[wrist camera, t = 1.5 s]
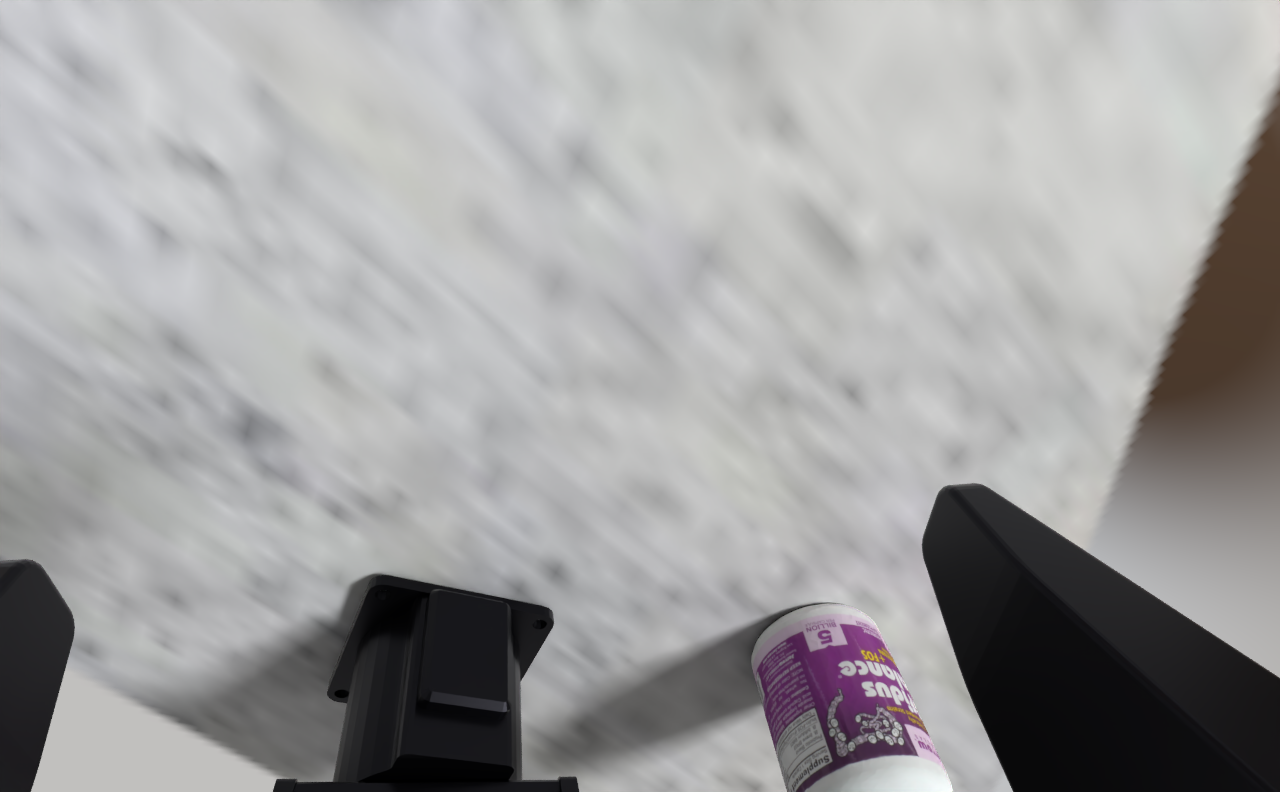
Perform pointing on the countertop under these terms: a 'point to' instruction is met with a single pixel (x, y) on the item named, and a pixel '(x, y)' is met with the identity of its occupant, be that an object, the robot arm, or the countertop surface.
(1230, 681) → the robot arm
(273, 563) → the countertop surface
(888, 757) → the pill bottle
